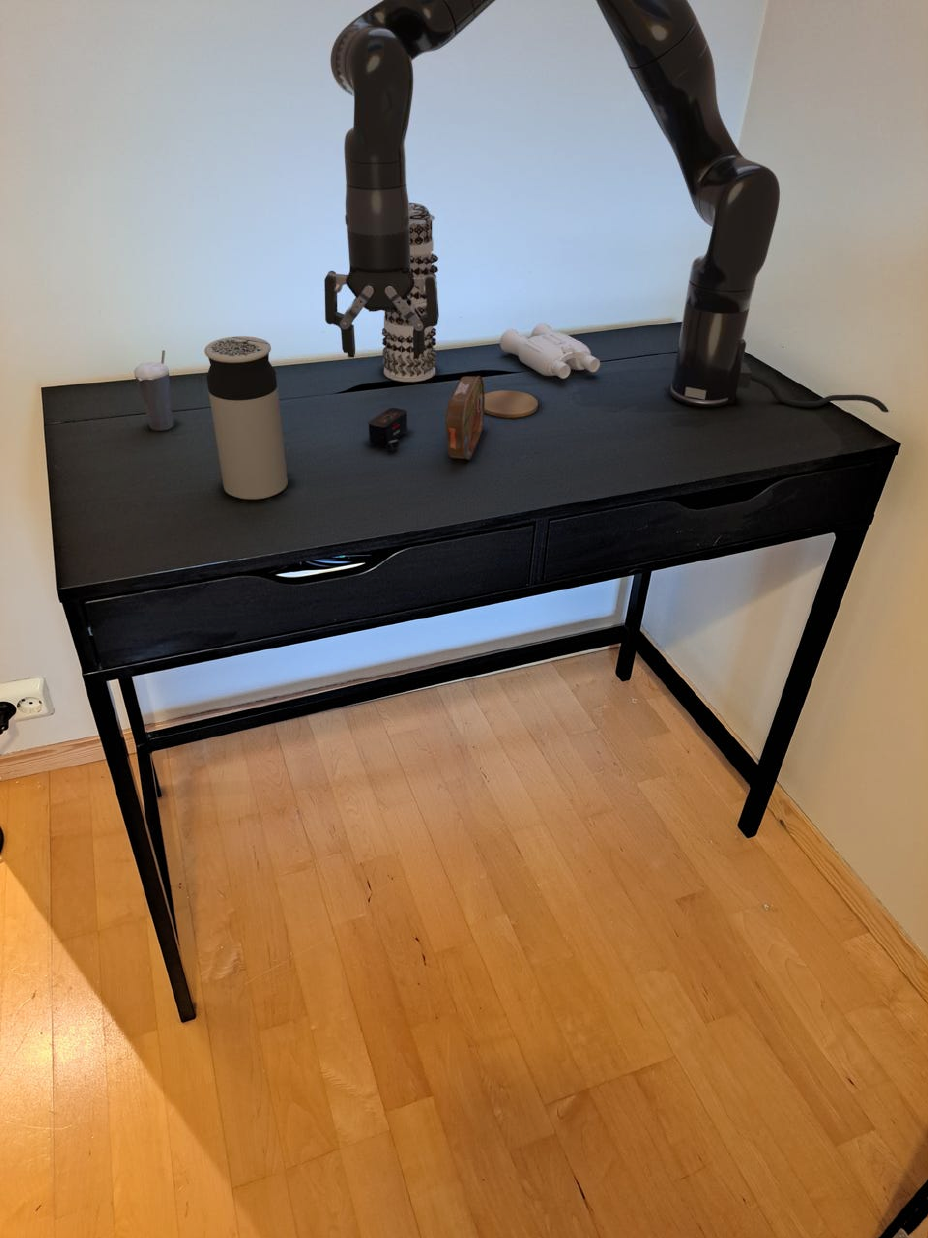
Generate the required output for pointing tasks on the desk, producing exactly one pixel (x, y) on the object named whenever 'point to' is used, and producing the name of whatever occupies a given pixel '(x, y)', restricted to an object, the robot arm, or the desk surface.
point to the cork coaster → (509, 404)
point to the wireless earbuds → (388, 428)
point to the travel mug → (246, 417)
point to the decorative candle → (397, 326)
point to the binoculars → (549, 351)
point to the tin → (465, 417)
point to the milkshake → (155, 393)
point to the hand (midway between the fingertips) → (384, 356)
